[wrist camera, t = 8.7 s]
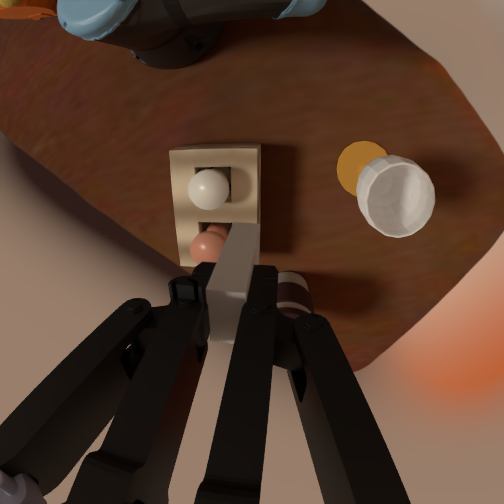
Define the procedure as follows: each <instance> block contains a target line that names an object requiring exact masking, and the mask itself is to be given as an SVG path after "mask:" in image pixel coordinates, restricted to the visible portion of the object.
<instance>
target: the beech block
mask: <svg viewBox="0 0 504 504" xmlns="http://www.w3.org/2000/svg"><path fill="white" fill-rule="evenodd" d="M169 154H170V169H171V181H172V193H173V203H174V213H175V223H176V232H177V240H178V248H179V256H180V264H181V266H193V267H196V266H197V265H198V264H197V263H196V262H195V261H194V260H193V258H192V257H191V254H190V246H191V243H192V241H193V240H194V238H195V237H196V236H197V235H198V234H199V233H201V232H203V231H206V230H207V228H208V227H209V222H221V223H232V225H233V223H234V222H238V223H256V224H260V204H261V143H223V144H191V145H182V146H179V147H177V148H174V149H172V150H169ZM206 167H231V191H229V195H228V197H227V199H226V201H225V202H224V204H223V205H222V206H220V207H219V208H217V209H214V210H204V209H201V208H199V207H197V206H196V205H195V204H194V203H193V202H192V201H191V199H190V197H189V194H188V185H189V182H190V180H191V179H192V177H193V176H194V175H196V174H197V173H198V172H200V171H202V170H205V169H206ZM259 255H260V245H259Z"/></svg>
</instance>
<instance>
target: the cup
mask: <svg viewBox="0 0 504 504" xmlns="http://www.w3.org/2000/svg"><path fill="white" fill-rule="evenodd" d="M337 174H338V178H339V181H340V183H341V184H342V186H343V187H344V189H345V190H346V191H348V192H349V193H351V194H352V195H354V196H357V199H358V205H359V207H360V210H361V212H362V213H363V215H364V217H365V218H366V220H367V221H368V223H369V224H370V225H371V226H373V227H374V228H375V229H377V230H378V231H380V232H381V233H383V234H384V235H385V236H391V237H396V238H400V237H405V236H409V235H412V234H414V233H415V232H417V231H418V230H419V229H421V228H422V227H423V226H424V225H425V224H426V222H427V221H428V219H429V218H430V217H431V215H432V211H433V208H434V204H435V191H434V186H433V184H432V182H431V180H430V178H429V175H428V174H427V173H426V172H425V171H424V170H423V169H422V168H421V167H420V166H418V165H417V164H416V163H415V162H414V161H412V160H410V159H406V158H402V157H399V156H395V155H389V156H388V154H387V153H386V151H385V150H384V149H383V148H382V147H380V146H379V145H378V144H376V143H373V142H369V141H360V142H354V143H353V144H351V145H350V146H348V147H347V148H345V149H344V151H343V152H342V154H341V155H340V157H339V159H338V164H337Z"/></svg>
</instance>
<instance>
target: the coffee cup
mask: <svg viewBox="0 0 504 504" xmlns="http://www.w3.org/2000/svg"><path fill="white" fill-rule="evenodd" d="M277 308H278V309H279V311H280V312H281V313H282V314H284V315H285V316H288V317H290V318H294V319H296V318H297V317H298V316H300V315H301V314H305V313H314V309H313V304H312V299H311V296H310V293H309V291H308V286H307V283H306V281H305V280H304V278H303V277H302V276H300V275H299V274H297V273H294V272H281V273H279V275H278V293H277Z"/></svg>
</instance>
